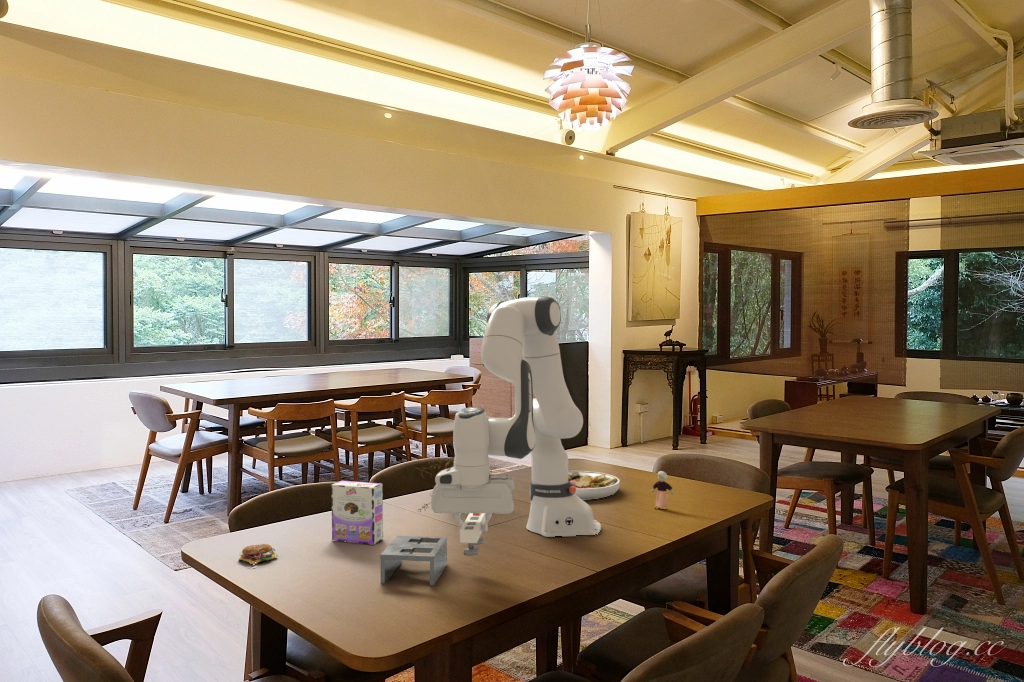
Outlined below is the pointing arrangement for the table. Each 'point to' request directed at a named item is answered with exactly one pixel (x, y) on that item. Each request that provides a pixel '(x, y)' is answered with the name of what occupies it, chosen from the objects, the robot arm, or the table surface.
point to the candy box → (357, 512)
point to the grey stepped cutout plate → (414, 555)
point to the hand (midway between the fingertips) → (473, 530)
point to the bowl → (593, 484)
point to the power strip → (472, 533)
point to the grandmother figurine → (662, 490)
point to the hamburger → (257, 553)
